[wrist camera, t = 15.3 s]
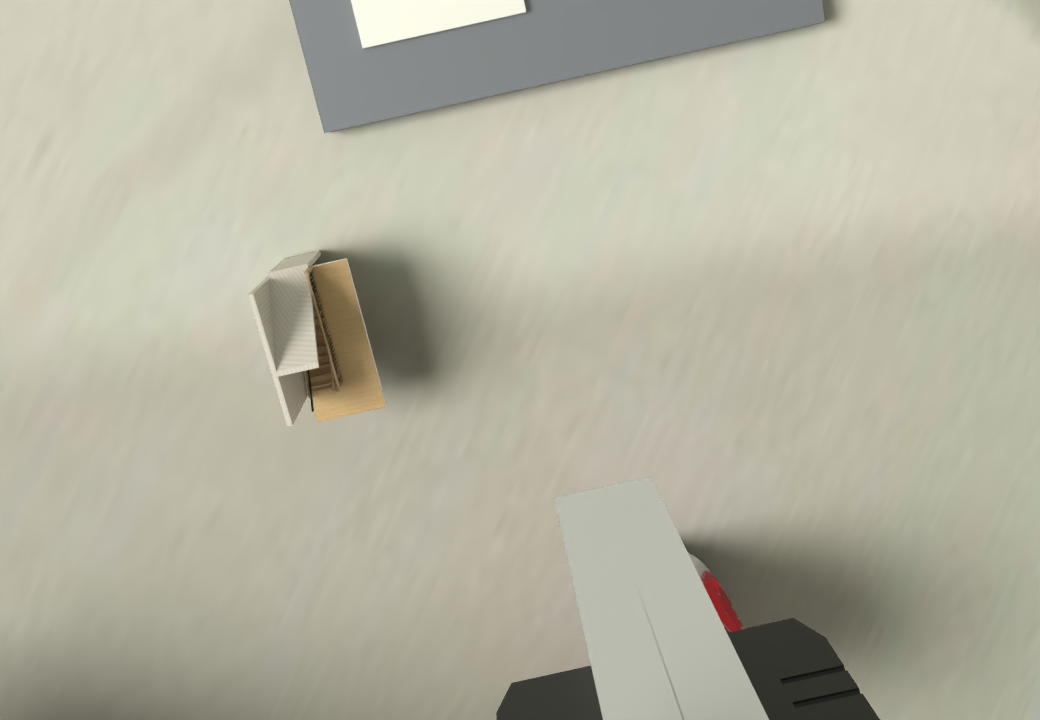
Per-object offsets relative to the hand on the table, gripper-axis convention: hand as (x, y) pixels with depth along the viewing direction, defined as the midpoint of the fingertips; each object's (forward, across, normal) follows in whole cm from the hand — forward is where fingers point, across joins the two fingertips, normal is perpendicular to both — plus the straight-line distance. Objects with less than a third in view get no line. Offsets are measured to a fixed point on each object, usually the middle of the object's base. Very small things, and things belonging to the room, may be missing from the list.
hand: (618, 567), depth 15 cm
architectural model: (+31, -10, -1) cm, 32 cm away
